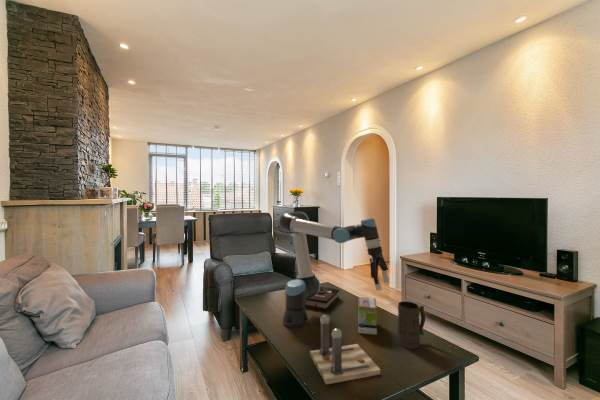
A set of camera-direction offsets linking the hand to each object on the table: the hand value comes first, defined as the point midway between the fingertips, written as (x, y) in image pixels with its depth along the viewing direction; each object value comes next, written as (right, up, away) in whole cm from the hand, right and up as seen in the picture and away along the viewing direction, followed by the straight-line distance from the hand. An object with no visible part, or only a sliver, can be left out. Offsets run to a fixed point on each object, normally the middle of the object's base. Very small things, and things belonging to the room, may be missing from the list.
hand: (383, 286), depth 151 cm
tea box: (-7, -26, +7) cm, 28 cm away
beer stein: (+12, -26, -8) cm, 30 cm away
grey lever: (-33, -24, -22) cm, 46 cm away
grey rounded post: (-29, -24, -35) cm, 52 cm away
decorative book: (-29, -26, +46) cm, 60 cm away
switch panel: (-25, -26, -27) cm, 45 cm away
